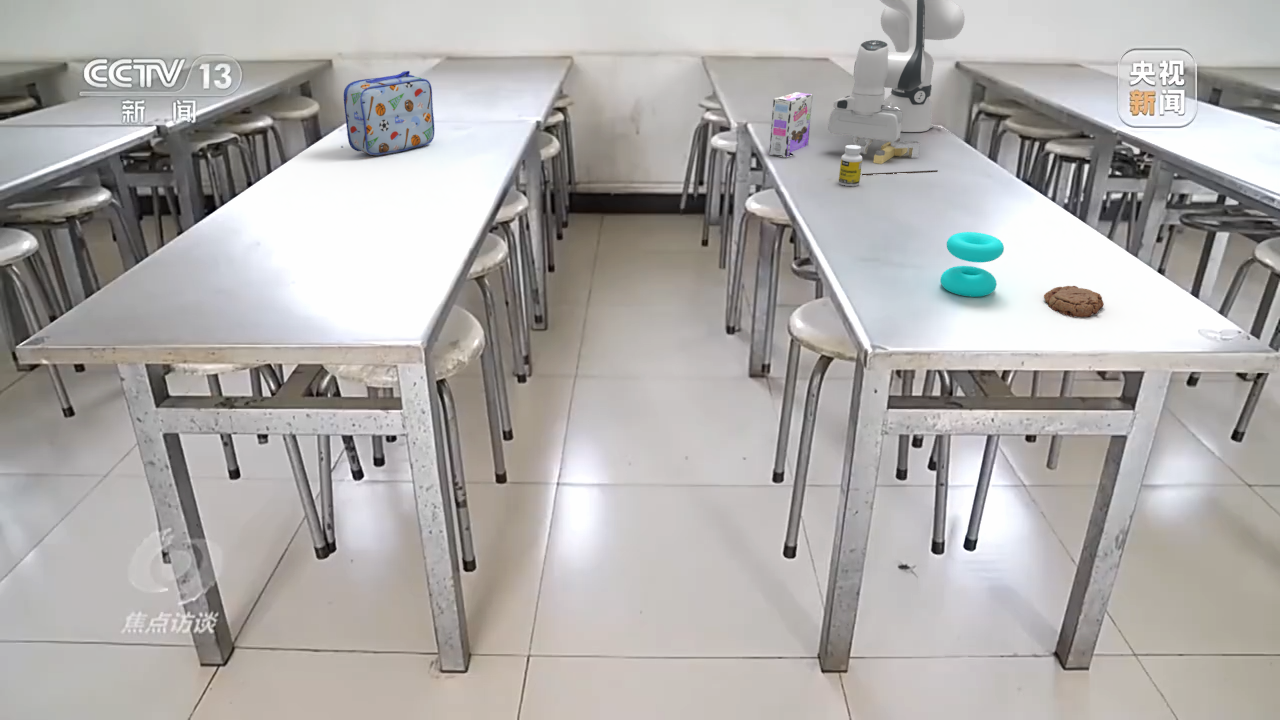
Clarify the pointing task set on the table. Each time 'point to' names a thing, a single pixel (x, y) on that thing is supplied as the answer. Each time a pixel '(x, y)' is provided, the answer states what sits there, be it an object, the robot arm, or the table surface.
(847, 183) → the supplement bottle
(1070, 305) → the cookie
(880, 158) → the link
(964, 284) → the cyan spool
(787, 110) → the candy box
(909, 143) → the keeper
